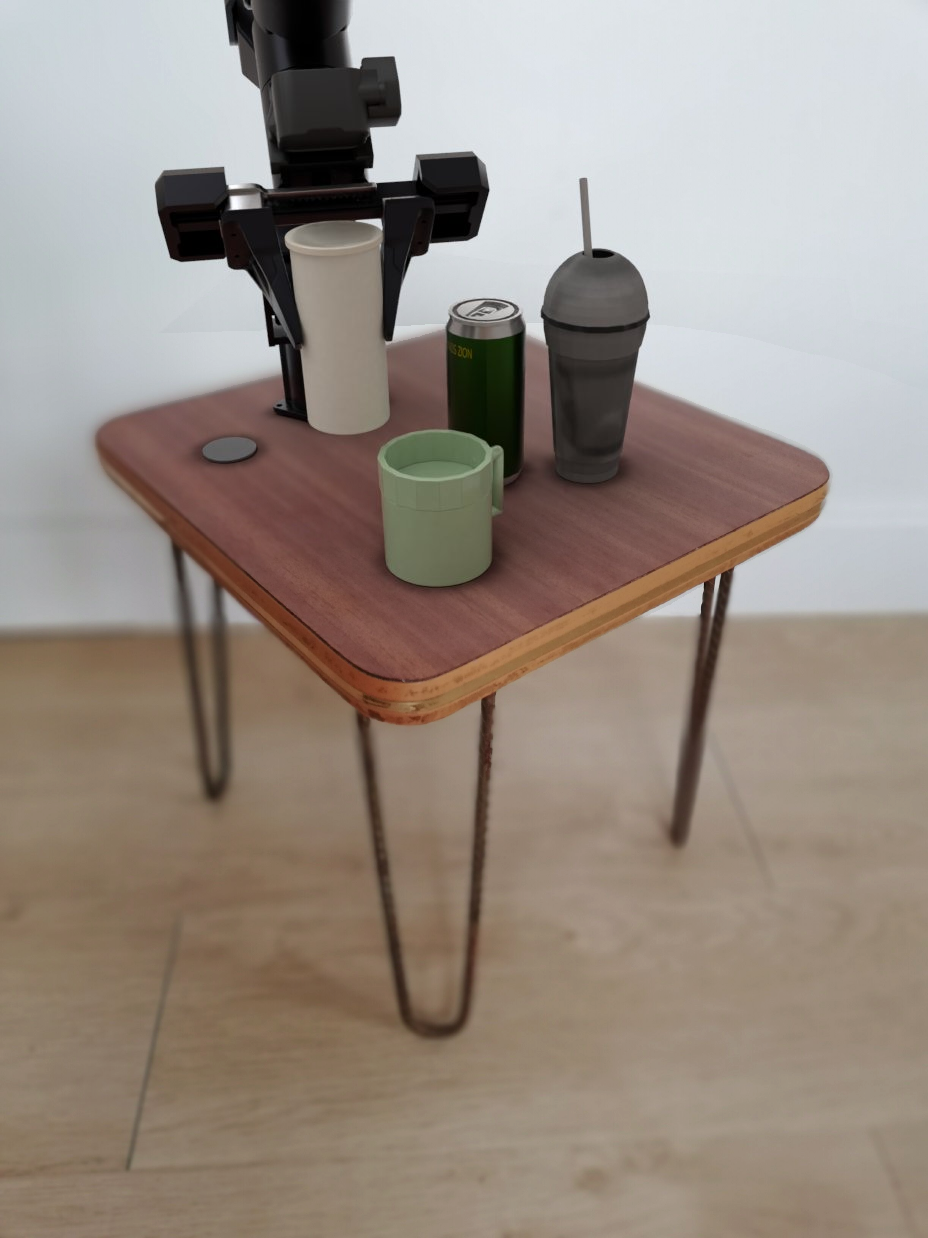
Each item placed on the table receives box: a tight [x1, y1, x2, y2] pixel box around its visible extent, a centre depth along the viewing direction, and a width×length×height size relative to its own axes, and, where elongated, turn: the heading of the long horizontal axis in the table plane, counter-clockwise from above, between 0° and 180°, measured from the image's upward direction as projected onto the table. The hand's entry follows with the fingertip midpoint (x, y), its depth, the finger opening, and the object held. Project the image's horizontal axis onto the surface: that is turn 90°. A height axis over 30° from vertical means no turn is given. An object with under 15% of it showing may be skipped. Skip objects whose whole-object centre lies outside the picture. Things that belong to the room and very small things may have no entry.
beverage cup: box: [540, 177, 651, 484], centre depth 73 cm, size 7×7×20 cm
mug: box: [377, 429, 504, 588], centre depth 67 cm, size 9×7×7 cm
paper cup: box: [285, 220, 391, 436], centre depth 63 cm, size 5×5×11 cm
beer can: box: [444, 296, 527, 487], centre depth 75 cm, size 5×5×12 cm
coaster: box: [202, 436, 257, 464], centre depth 82 cm, size 4×4×1 cm
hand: (343, 342), depth 62 cm, fingers closed on paper cup, 5 cm apart
